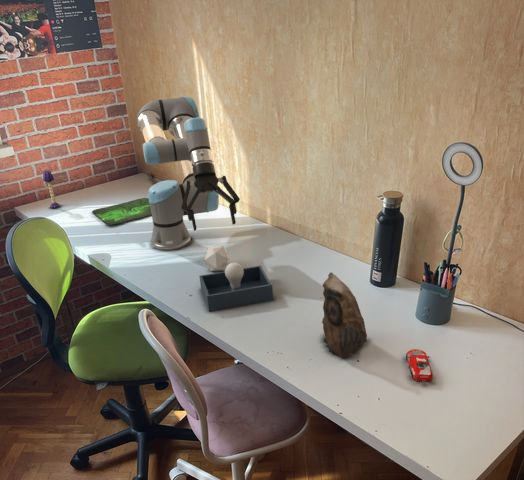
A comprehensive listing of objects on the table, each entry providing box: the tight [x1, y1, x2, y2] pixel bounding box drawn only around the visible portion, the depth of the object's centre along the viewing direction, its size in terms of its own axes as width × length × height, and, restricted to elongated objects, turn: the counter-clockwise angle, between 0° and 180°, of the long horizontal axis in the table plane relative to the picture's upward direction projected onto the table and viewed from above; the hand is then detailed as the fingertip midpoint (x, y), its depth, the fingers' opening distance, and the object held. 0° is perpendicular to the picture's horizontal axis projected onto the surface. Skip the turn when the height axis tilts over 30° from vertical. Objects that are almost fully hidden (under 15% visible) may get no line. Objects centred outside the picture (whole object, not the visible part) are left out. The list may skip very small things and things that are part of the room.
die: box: [204, 246, 230, 272], centre depth 201 cm, size 8×9×10 cm
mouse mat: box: [91, 197, 152, 226], centre depth 252 cm, size 27×22×1 cm
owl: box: [321, 271, 368, 359], centre depth 156 cm, size 13×13×20 cm
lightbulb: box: [225, 262, 244, 291], centre depth 184 cm, size 6×6×11 cm
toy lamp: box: [42, 169, 61, 210], centre depth 257 cm, size 5×5×17 cm
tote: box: [198, 265, 274, 312], centre depth 186 cm, size 15×21×6 cm
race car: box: [405, 348, 434, 384], centre depth 149 cm, size 13×5×4 cm, turn 177°
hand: (214, 226), depth 194 cm, fingers open, 13 cm apart
